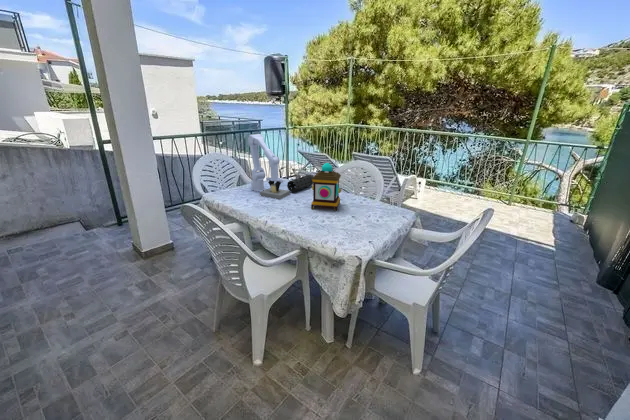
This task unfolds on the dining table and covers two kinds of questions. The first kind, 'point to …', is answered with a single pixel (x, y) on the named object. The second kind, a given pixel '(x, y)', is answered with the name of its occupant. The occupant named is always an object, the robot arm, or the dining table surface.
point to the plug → (273, 188)
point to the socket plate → (277, 195)
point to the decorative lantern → (326, 188)
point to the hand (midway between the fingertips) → (275, 190)
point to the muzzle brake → (300, 183)
